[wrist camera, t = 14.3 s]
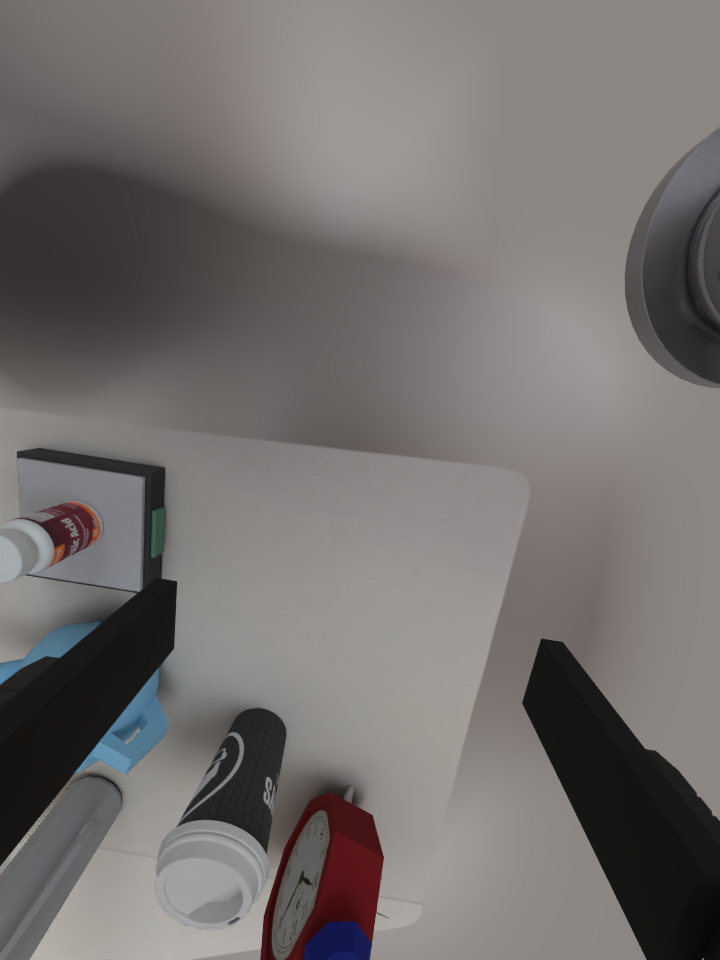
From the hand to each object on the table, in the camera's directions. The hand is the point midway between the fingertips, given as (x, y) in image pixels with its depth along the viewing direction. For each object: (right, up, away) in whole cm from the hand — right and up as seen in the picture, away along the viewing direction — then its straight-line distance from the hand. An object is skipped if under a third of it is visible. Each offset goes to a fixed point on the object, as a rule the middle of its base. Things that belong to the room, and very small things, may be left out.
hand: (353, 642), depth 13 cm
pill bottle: (-27, +2, +23) cm, 35 cm away
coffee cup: (-12, -24, +31) cm, 41 cm away
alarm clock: (-3, -37, +34) cm, 50 cm away
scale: (-27, +2, +26) cm, 37 cm away
